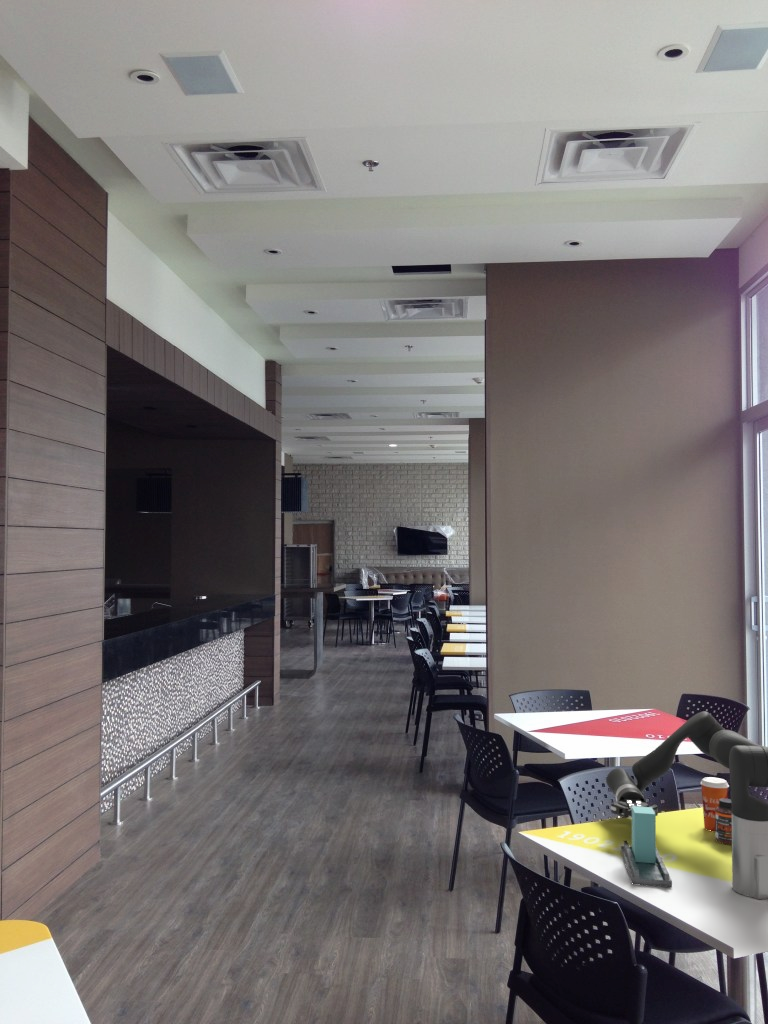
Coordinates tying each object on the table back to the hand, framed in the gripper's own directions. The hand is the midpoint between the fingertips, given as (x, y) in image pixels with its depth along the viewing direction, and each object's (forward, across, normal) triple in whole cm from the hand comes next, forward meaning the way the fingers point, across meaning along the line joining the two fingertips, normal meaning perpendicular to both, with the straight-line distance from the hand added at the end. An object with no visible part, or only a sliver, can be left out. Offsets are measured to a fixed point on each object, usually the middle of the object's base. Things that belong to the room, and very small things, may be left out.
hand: (638, 818), depth 217 cm
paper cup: (-26, -25, -9) cm, 37 cm away
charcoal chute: (+11, 0, -9) cm, 14 cm away
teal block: (+9, 0, -7) cm, 11 cm away
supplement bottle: (-15, -26, -9) cm, 31 cm away
